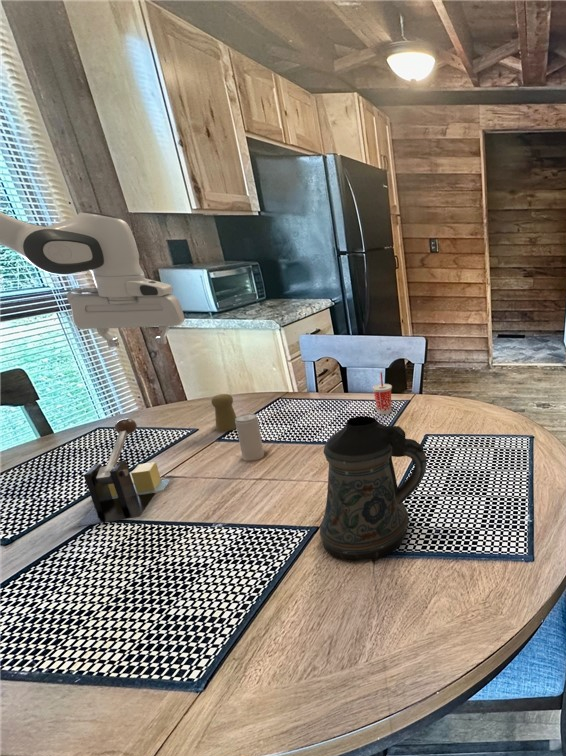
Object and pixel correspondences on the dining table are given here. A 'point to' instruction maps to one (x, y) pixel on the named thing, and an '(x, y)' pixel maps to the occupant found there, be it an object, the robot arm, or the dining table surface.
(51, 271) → the robot arm
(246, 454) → the beverage can
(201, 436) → the dining table surface
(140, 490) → the butter right
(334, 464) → the beer stein
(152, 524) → the dining table surface
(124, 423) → the lever
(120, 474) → the cutter
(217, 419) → the cork
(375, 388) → the beverage cup
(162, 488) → the butter dish
